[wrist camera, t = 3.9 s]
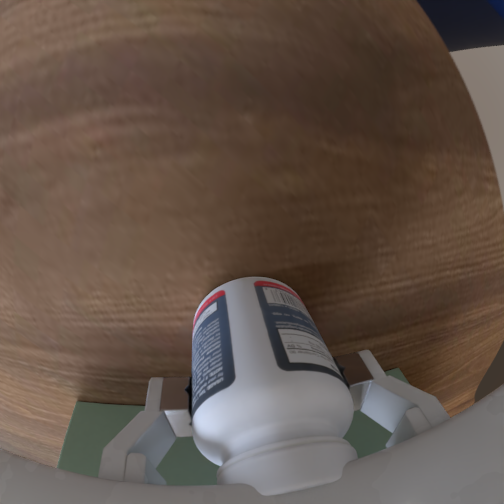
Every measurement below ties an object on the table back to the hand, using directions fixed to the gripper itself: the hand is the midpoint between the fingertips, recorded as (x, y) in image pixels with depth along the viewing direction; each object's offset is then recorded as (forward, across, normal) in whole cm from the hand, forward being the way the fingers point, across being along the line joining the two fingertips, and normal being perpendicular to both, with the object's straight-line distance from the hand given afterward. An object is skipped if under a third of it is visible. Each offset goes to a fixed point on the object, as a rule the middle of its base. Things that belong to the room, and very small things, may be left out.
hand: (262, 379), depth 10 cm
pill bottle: (+4, 0, 0) cm, 4 cm away
